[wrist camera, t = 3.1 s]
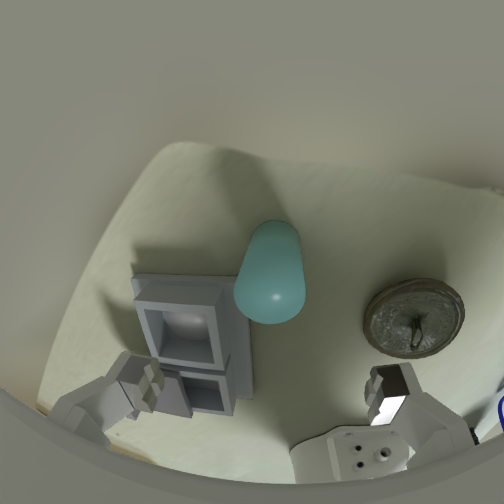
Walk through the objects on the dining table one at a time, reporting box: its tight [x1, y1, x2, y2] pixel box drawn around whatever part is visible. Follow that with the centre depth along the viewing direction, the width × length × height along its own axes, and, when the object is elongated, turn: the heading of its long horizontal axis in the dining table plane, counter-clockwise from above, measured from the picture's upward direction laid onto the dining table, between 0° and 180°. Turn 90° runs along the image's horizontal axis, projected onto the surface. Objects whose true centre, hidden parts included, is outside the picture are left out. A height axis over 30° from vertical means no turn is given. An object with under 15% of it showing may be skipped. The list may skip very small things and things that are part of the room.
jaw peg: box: [234, 220, 306, 324], centre depth 18 cm, size 4×4×8 cm
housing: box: [131, 273, 254, 416], centre depth 25 cm, size 16×11×4 cm
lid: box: [363, 278, 465, 359], centre depth 21 cm, size 11×10×5 cm
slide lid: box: [126, 370, 193, 420], centre depth 24 cm, size 7×7×3 cm
